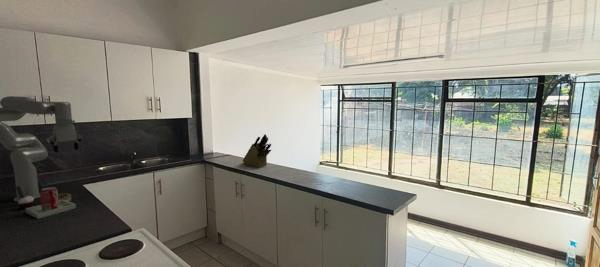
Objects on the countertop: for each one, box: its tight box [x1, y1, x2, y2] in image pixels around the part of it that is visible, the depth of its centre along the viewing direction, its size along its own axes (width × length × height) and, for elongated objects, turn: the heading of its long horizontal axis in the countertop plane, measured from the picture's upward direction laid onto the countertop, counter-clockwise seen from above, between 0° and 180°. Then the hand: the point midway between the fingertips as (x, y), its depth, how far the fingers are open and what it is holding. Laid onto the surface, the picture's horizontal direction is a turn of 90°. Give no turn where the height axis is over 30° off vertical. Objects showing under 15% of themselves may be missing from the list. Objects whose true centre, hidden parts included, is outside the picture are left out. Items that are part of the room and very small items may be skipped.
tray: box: [25, 200, 77, 220], centre depth 146 cm, size 16×16×2 cm
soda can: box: [39, 186, 59, 211], centre depth 146 cm, size 7×7×12 cm
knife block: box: [242, 134, 272, 168], centre depth 257 cm, size 11×35×31 cm, turn 44°
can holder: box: [58, 193, 72, 202], centre depth 160 cm, size 12×12×3 cm
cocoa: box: [15, 186, 35, 210], centre depth 150 cm, size 10×6×12 cm, turn 56°
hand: (66, 150), depth 161 cm, fingers open, 9 cm apart
